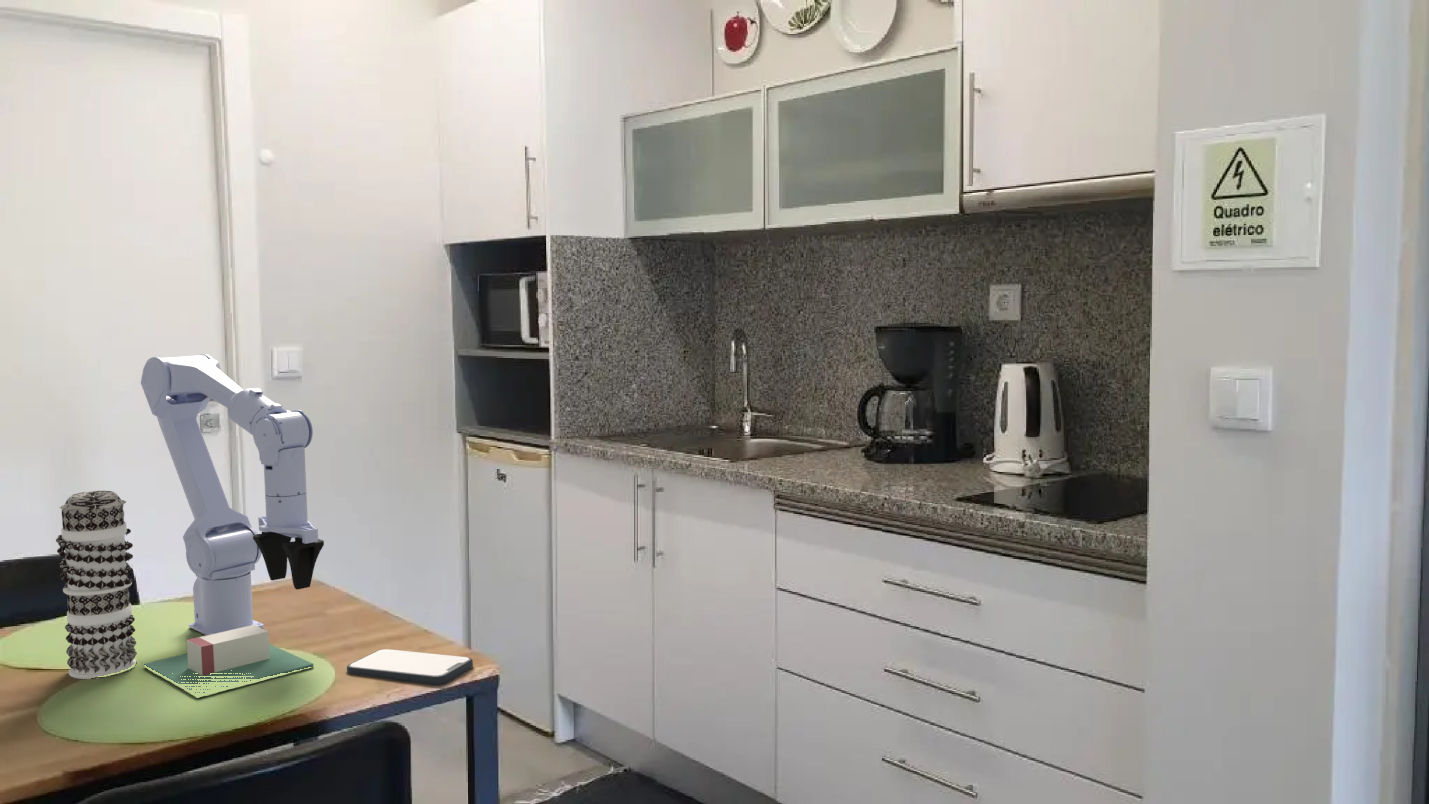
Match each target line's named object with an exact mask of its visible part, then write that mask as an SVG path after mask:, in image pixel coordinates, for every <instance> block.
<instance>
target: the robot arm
mask: <svg viewBox="0 0 1429 804" xmlns="http://www.w3.org/2000/svg"><path fill="white" fill-rule="evenodd" d="M140 385H141V388H142V390H143V393H144V396H145V398H146V401H147V403H148V404H147V405H149V408H150V409H149V410H150V412H151V414H152V415H153V416H155V417H156V418H157V421H158V425H159V427H160V430H161V433H162V436H163V438H164V442H165V443H166V446H167V449H168V451H169V454H170V457H171V460H172V462H173V466H174V468H175V470H176V473H177V475H178V479H179V482H180V483H181V487H182V489H183V492H184V495H185V497H186V501H187V503H188V506H189V508H190V510H191V513H192V516H193V519H194V520H193V521H192V522H191V524H190V525H189V526H188V528H187V529H186V530H185V532H184V533H183V535H182V539H183V542H184V545H185V557H186V562H187V565H188V567H189V569H190V570H191V571H192V573H193V574H195V577H196V579H195V581H194V583H193V588H192V592H193V594H192V595H193V611H194V614H193V615H194V622H192V623H189V624H188V627H189V628H191V629H192V630H194V631H197V632H199V633H200V634H203V635H204V636H207V635H211V634H216V633H220V632H225V631H229V630H233V629H238V628H242V627H247V626H251V625H255V626H258V627H260V628H262V629H264V626H265V624H264V623H262V622H259V621H256V620H255V619H254V611H253V609H254V608H253V593H252V592H253V591H252V571H255V570H256V564H257V563H258V562H259V561H260V559H261V556H262V557H263V561H264V564H265V566H266V571H267V573H268V577H269V579H270V581H277V580H282V579H283V580H284V579H286V576H287V573H288V572H287V571H288V563H289V566H290V574H291V580H292V584H293V586H294V590H302V589H306V588H310V587H311V584H312V583H311V582H312V580H313V579H312V578H313V575H314V571H315V570H314V569H315V566H316V564H317V563H316V562H317V560H318V557H319V555H320V553H321V550H322V549H323V547H324V545H325V543H324V542H325V541H324V540H323V539H320V538H319V531H318V528H316V527H314V526H313V524H312V523H311V522H310V521H309V520H308V519H309V518H308V499H307V497H308V495H307V477H306V476H307V474H306V452H305V451H306V448H307V447H309V446H310V444H311V442H312V440H313V436H314V435H313V433H314V432H313V425H312V422H311V420H310V417H308V416H307V414H305V412H304V411H302V409H295V410H291V411H290V410H286V409H285V408H284V407H283V405H281V404H279V403H276V402H275V401H273V400H272V399H270V398H269V397H267V396H266V395H265V394H264V392H263V390H261V389H260V388H259V387H256V388H245V389H243V388H242V387H241V386H239V385H238V384H237V383H236V382H235V381H234V380H233V379H231V378H230V377H229V376H228V375H227V374H225V373H224V372H223V371H222V370H221V365H220V362H219V360H216V359H214V358H213V357H212V355H209V354H208V353H207V354H206V353H204V354H203V353H201V354H198V355H183V356H168V357H167V356H166V357H164V356H163V357H159V356H152V357H150V358H148V359H147V360H146V362H145V364H144V366H143V369H142V374H141V380H140ZM211 400H213V401H215V402H216V403H218V404H220V405H221V406H223V407H225V408H226V409H227V415H228V417H229V419H230V420H231V421H232V422H233V423H235V424H237V426H239V427H241V428H242V429H243V430H244V431H246V432H248V433H249V434H250V435H252V437H253V442H254V445H255V446H256V448H257V450H258V451H257V452H258V453H259V454H258V456H259V461H260V463H261V465H263V476H264V477H263V478H264V495H265V497H264V500H265V515H264V516H258V531H260V532H261V533H258V532H257V531H256V530H255V529H254V528H253V526H252V525H251V522H250V520H249V517H248V516H247V515H245V514H244V513H241V512H240V511H237V510H235V509H233V508H231V507H230V505H229V501H228V500H227V497H226V495H225V491H224V488H223V487H222V484H221V482H220V481H221V480H220V478H219V476H218V473H217V471H216V468H215V466H214V462H213V460H212V457H211V455H210V452H209V449H208V447H207V445H206V441H205V439H204V437H203V436H204V435H203V433H202V431H201V428H200V426H199V423H198V420H197V419H198V418H197V417H198V415H199V414H200V413H202V412H203V411H205V410H206V408H207V407H208V404H209V402H210V401H211ZM292 538H293V539H294V541H291V540H292Z"/></svg>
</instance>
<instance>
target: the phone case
mask: <svg viewBox="0 0 1429 804" xmlns="http://www.w3.org/2000/svg"><path fill="white" fill-rule="evenodd" d="M473 662H474V661H473V659H472V657H468V656H459V655H450V654H439V653H430V652H420V651H412V650H411V651H409V650H400V649H390V648H384V649H378V650H376V651H374V652H371V653H370V654H368V655H366V656H363V657H361V658H359V659H358V660H355V661H353V662H351V663H349V664H348V665H347V666H346V670H347V671H346V673H347V674H348V673H349V675H353V674H354V675H353V676H355V675H356V676H361V677H362V676H363V677H369V678H370V677H371V678H377V679H385V680H389V681H390V680H392V681H400V682H404V683H405V682H408V683H414V684H415V683H416V684H421V685H430V686H442V685H446V684H448V683H449V682H451V681H453V680H454V679H456V678H457V677H460V676H461V675H463V674H465V673H467V671H466V670H468V671H470V670H471V669H472V668H473V667H474V663H473ZM471 667H472V668H471ZM470 668H471V669H470ZM469 669H470V670H469ZM464 672H465V673H464Z"/></svg>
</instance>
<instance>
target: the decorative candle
mask: <svg viewBox="0 0 1429 804" xmlns="http://www.w3.org/2000/svg"><path fill="white" fill-rule="evenodd" d="M126 503H127V500H124V499H122V498H121V497H120V496H119V495H118V494H117V493H116V492H114V491H113V490H90V491H82V492H78V493H73V494H72V495H70V496H69V497H68V498H67V500H66V501H65V503H64V504H63V505H60V507H58V508H59V509H60V510H61V522H62V523H61V524H62V528H61V532H60V533H61V534H59V535H57V538H56V539H55V542H56V543H57V544H58V546H59V548H57V550H56V552H57V554H58V556H59V557H61V558H62V559H61V561H60V563H59V564H58V567H59V569H60V570H61V573H60V576H59V577H60V579H61V581H62V582H63V583H65V584H64V587H62V592H63V594H65V595H66V597H67V598H66V599H67V610H68V611H67V612H66V617H67V624H66V625H65V626H64V629H65V630H66V632H67V633H68V635H66V637H65V640H66V641H67V643H68V644H69V646H68V647H67V648H66V651H65V652H66V654H67V656H68V659H67V660H66V663H67V665H68V667H70V668H69V670H68V675H69V676H70V678H73V679H77V680H80V679H81V680H92V679H91V678H94V677H98V676H104V675H108V674H111V673H117V672H120V671H121V670H125V669H128V668H129V667H131V666H132V665H134V664H135V663H136V661H137V660H136V659H135V658H136V656H137V654H138V652H137V651H136V648H135V646H136V645H137V641H136V639H135V637H134V636H132V635H134V632H135V631H136V628H135V626H134V625H132V624H133V623H134V622H135V617H134V615H133V613H132V603H131V602H130V600H129V599H130V591H129V587H131V585H132V584H133V581H134V580H133V579H132V578H130V577H128V576H129V575H130V574H131V573H133V571H134V568H133V567H129V566H128V565H127V562H129V561H130V560H132V559H133V557H134V554H132V553H130V552H128V551H129V550H130V549H132V548H133V546H134V545H133V543H132V542H129V541H128V540H125V539H126V538H125V537H127V536H128V535H129V534H130V533H132V530H131V528H127V522H126V521H125V511H124V505H125V504H126Z"/></svg>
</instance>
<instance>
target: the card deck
mask: <svg viewBox="0 0 1429 804" xmlns="http://www.w3.org/2000/svg"><path fill="white" fill-rule="evenodd" d="M269 632H270V631H268V630H267V629H264V628H260V627H258V626H255V625H251V626H247V627H242V628H238V629H233V630H229V631H225V632H220V633H216V634H211V635H203V636H197V637H193V638H189V639H187V640H186V648H187V649H186V650H187V651H186V652H187V655H188V668H189V669H191V670H193V671H195V672H196V673H198V674H200V675H202V676H204V675H208V674H210V673H215V672H219V671H223V670H227V669H231V668H235V667H239V666H243V665H246V664H250V663H254V662H258V661H262V660H266V659H270V653H269V644H270V637H269V634H270V633H269Z"/></svg>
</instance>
